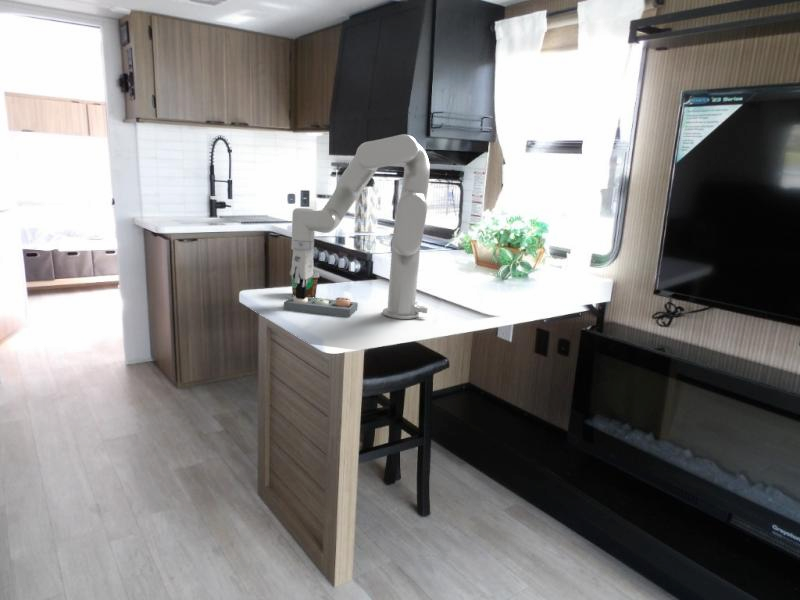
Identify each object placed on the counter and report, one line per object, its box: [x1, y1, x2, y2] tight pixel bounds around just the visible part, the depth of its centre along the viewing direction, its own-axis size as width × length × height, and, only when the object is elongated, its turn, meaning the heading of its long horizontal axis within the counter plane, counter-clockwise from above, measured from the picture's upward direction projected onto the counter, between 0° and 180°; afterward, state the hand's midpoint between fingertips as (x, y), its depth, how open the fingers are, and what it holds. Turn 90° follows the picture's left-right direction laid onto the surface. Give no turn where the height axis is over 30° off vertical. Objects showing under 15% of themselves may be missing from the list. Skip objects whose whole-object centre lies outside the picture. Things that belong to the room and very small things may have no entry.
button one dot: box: [314, 298, 329, 305], centre depth 194 cm, size 5×5×3 cm
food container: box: [289, 267, 320, 298], centre depth 210 cm, size 12×6×10 cm, turn 62°
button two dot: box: [293, 297, 308, 303], centre depth 195 cm, size 5×5×3 cm
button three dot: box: [335, 296, 351, 308], centre depth 193 cm, size 5×5×3 cm
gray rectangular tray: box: [283, 295, 359, 318], centre depth 194 cm, size 23×11×3 cm, turn 80°
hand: (300, 297), depth 195 cm, fingers closed
